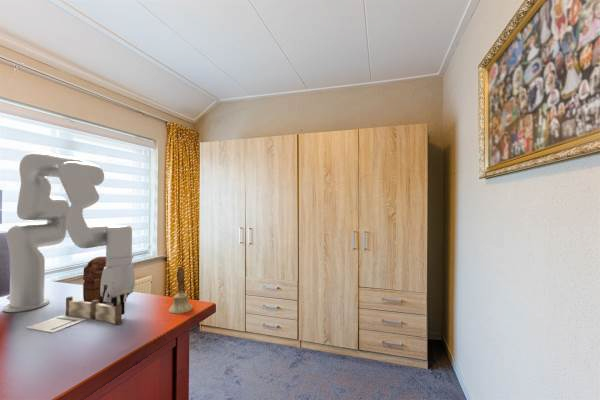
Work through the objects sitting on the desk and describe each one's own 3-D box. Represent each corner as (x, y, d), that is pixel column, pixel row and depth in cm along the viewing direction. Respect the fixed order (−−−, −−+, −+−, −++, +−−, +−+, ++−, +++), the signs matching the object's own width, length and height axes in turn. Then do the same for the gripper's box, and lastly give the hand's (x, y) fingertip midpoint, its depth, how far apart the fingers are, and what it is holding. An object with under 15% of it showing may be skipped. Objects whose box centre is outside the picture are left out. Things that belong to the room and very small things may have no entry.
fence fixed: (64, 315, 100) (64, 298, 100) (70, 312, 102) (70, 296, 102) (94, 319, 96) (94, 302, 96) (99, 317, 98) (100, 300, 98)
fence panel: (94, 319, 96) (94, 301, 96) (100, 317, 97) (100, 299, 98) (117, 325, 91) (117, 306, 91) (122, 323, 93) (122, 304, 93)
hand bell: (181, 315, 100) (181, 270, 100) (163, 312, 103) (163, 268, 103) (197, 307, 108) (197, 265, 108) (180, 304, 111) (180, 263, 111)
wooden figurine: (83, 307, 107) (83, 260, 107) (82, 302, 112) (83, 257, 112) (120, 300, 114) (120, 256, 115) (117, 296, 119) (118, 254, 119)
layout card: (26, 328, 89) (26, 327, 89) (61, 316, 99) (61, 315, 99) (53, 333, 86) (53, 331, 86) (85, 320, 96) (85, 318, 96)
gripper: (128, 256, 105) (128, 305, 105) (89, 265, 91) (89, 322, 91) (145, 257, 103) (144, 307, 103) (108, 266, 89) (107, 325, 89)
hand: (118, 314), depth 97 cm, fingers closed
